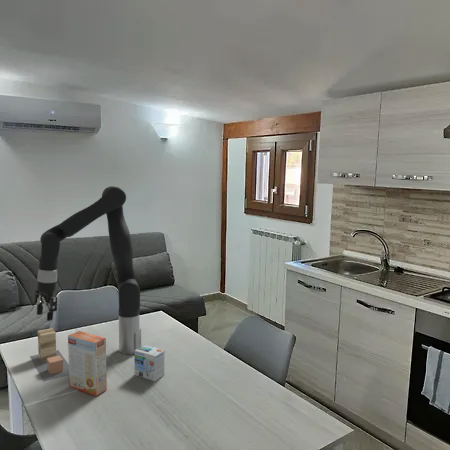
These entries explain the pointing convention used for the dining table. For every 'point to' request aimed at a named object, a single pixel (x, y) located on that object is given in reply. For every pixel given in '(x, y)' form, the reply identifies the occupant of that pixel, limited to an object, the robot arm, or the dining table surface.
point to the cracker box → (87, 362)
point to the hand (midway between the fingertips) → (44, 317)
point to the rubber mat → (43, 368)
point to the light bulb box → (149, 362)
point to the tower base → (46, 353)
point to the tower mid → (46, 338)
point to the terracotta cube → (55, 364)
